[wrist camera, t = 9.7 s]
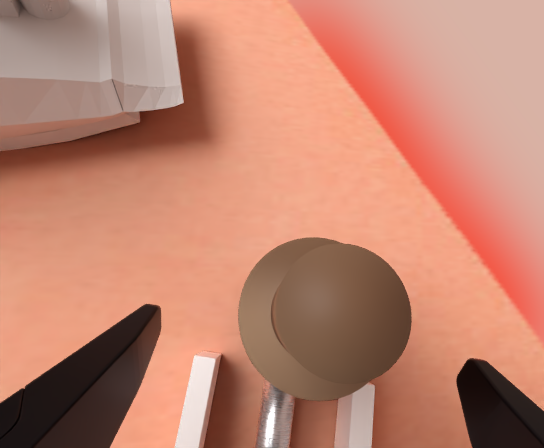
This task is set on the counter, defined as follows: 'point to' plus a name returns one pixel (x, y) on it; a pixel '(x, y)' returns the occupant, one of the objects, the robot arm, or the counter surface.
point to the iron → (83, 67)
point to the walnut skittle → (323, 318)
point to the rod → (275, 418)
